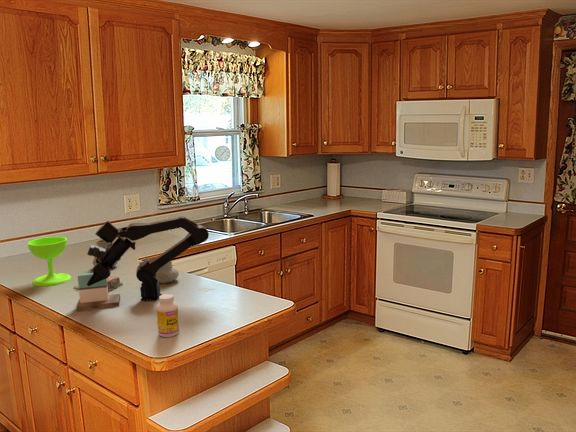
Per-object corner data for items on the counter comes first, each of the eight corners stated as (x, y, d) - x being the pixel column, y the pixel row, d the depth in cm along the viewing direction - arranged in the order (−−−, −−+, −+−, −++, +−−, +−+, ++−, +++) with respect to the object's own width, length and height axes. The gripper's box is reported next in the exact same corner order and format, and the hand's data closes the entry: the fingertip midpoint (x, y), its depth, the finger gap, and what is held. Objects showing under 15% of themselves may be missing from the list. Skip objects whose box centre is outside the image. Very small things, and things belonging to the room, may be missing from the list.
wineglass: (54, 273, 252) (49, 235, 249) (79, 277, 245) (75, 238, 242) (24, 283, 238) (18, 243, 234) (50, 288, 231) (45, 246, 227)
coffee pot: (90, 267, 261) (87, 236, 258) (114, 262, 267) (112, 232, 264) (102, 277, 243) (98, 245, 240) (127, 272, 249) (124, 240, 246)
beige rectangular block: (108, 297, 212) (107, 284, 211) (108, 300, 209) (106, 286, 208) (81, 300, 209) (79, 287, 208) (80, 303, 207) (78, 289, 206)
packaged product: (122, 274, 232) (107, 281, 223) (124, 285, 233) (109, 293, 224) (88, 271, 238) (72, 278, 229) (89, 282, 239) (73, 289, 230)
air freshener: (181, 279, 238) (180, 256, 236) (173, 285, 230) (171, 262, 228) (159, 277, 240) (157, 255, 239) (149, 283, 233) (147, 261, 231)
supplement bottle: (166, 339, 175) (163, 301, 172) (154, 334, 179) (151, 297, 177) (183, 332, 180) (180, 295, 177) (171, 328, 184) (168, 291, 182)
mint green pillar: (107, 283, 210) (105, 271, 210) (106, 285, 208) (105, 273, 207) (79, 286, 208) (78, 274, 207) (78, 288, 206) (77, 275, 205)
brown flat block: (120, 297, 216) (119, 293, 216) (119, 305, 207) (118, 302, 207) (80, 301, 213) (79, 298, 213) (76, 310, 203) (76, 306, 203)
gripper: (101, 232, 214) (74, 262, 214) (97, 243, 197) (67, 275, 196) (124, 249, 218) (97, 279, 217) (122, 262, 200) (93, 294, 199)
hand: (88, 281), depth 207 cm, fingers open, 9 cm apart
